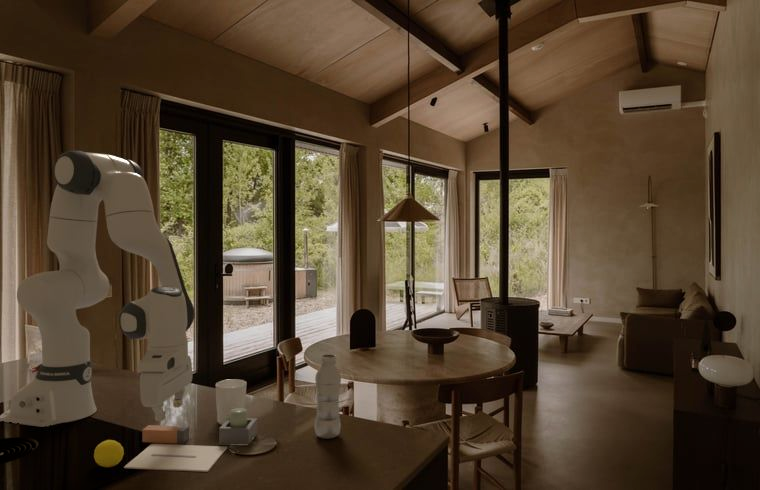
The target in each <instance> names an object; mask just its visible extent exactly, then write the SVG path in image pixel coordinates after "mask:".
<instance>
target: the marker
mask: <svg viewBox="0 0 760 490" xmlns="http://www.w3.org/2000/svg"><path fill="white" fill-rule="evenodd" d="M141 433H142V441H141V442H142V443H151V444H176V445H185V443H186V442H188V441H189V440H190V426H189V425H158V424H148V425H147V426H145V427H144V428H143V429H142V432H141Z"/></svg>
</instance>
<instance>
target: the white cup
mask: <svg viewBox="0 0 760 490" xmlns="http://www.w3.org/2000/svg"><path fill="white" fill-rule="evenodd" d="M247 385H248V384H247V381H245V380H244V379H238V378H235V379H234V378H233V379H224V380H220V381H218V382H216V383H215V402H216V403H215V404H216V413H217V415H216V416H217V423H218V424H219V425H221V426H222V425H223V424H224V423H225V422H226V421H227V420H228V418H230V411H231V410H233V409H236V408H244V409H246V399H247V398H246V396H247Z"/></svg>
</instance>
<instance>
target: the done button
mask: <svg viewBox="0 0 760 490" xmlns="http://www.w3.org/2000/svg"><path fill="white" fill-rule="evenodd" d="M247 418H248V409H247V408H245V409H244V408H236V409H233V410H231V411H230V427H244V428H246V427H247Z"/></svg>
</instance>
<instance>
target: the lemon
mask: <svg viewBox="0 0 760 490" xmlns="http://www.w3.org/2000/svg"><path fill="white" fill-rule="evenodd" d="M124 451H125V450H124V447H123V446H122V444H121V443H120V442H118V441H116V440H113V439H106V440H104V441H102V442H100V443H99V444H98V445H97V446H96V447H95V449H94V453H93V458H94V460H95V463H96V464H97V465H98V466H99V467H103V468H112V467H114V466H117V465H118V464H119V463H120V462H121V461H122V460H123V457H124V455H125V452H124Z"/></svg>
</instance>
